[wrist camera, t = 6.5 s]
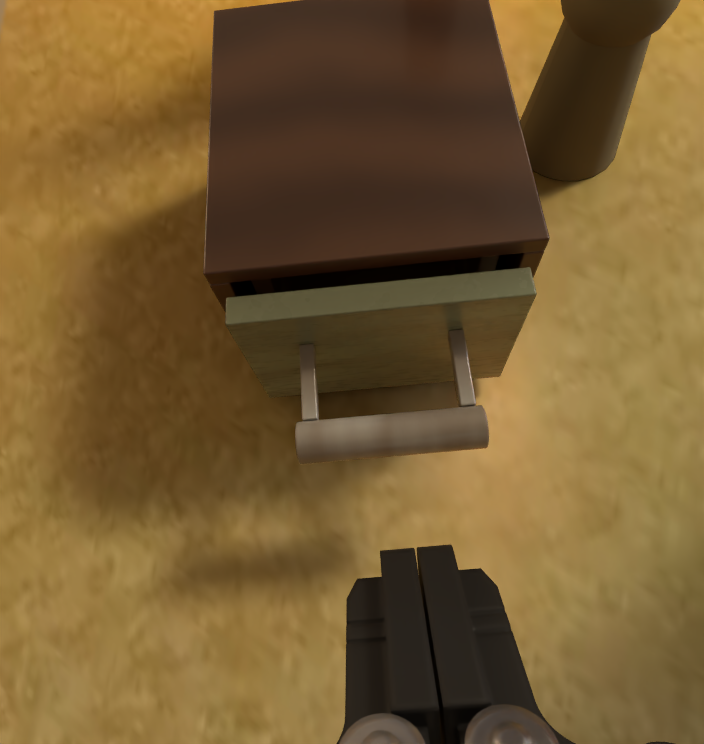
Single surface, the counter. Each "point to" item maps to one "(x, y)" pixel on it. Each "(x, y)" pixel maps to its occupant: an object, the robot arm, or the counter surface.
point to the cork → (589, 85)
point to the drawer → (383, 348)
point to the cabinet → (363, 142)
